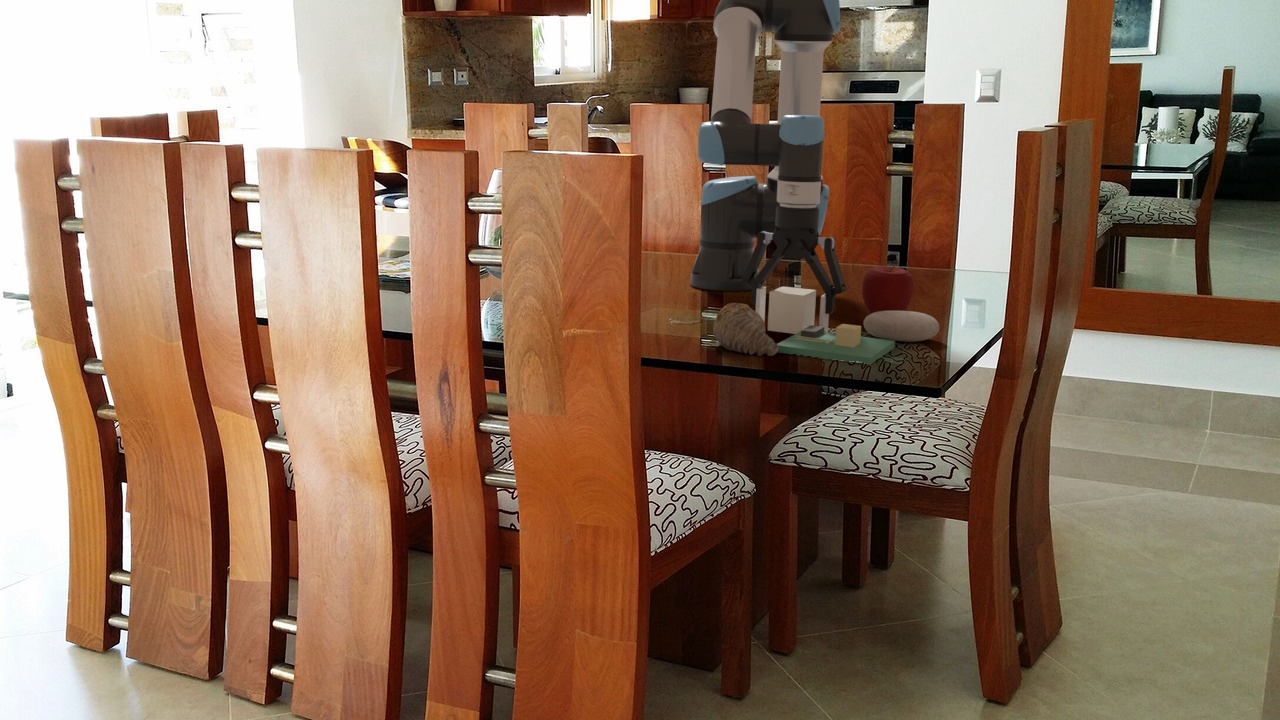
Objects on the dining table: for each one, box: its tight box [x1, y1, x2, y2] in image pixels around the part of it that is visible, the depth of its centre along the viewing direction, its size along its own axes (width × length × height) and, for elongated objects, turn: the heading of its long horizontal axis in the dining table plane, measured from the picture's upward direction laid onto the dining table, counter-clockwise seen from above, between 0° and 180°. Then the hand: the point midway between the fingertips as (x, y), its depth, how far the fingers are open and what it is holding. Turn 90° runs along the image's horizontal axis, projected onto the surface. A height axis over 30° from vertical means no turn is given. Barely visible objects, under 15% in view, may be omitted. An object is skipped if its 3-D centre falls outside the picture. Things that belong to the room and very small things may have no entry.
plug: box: [767, 286, 817, 335], centre depth 198 cm, size 6×7×7 cm
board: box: [777, 323, 896, 366], centre depth 183 cm, size 16×14×4 cm
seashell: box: [712, 302, 779, 357], centre depth 184 cm, size 14×10×10 cm
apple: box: [861, 265, 915, 315], centre depth 209 cm, size 10×10×10 cm
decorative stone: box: [863, 310, 940, 343], centre depth 192 cm, size 13×9×5 cm
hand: (791, 327), depth 199 cm, fingers open, 11 cm apart
